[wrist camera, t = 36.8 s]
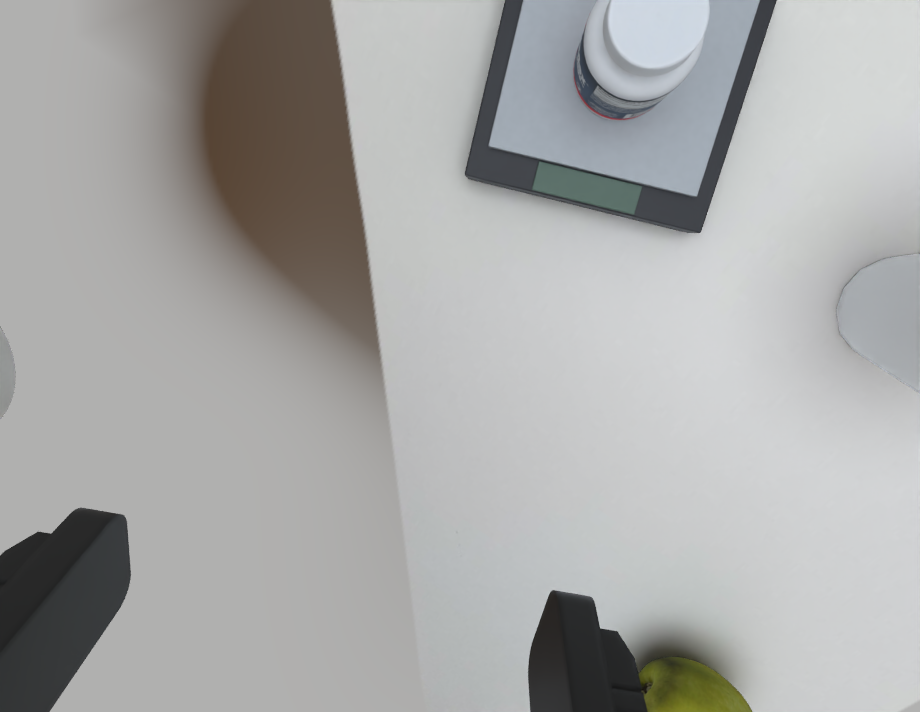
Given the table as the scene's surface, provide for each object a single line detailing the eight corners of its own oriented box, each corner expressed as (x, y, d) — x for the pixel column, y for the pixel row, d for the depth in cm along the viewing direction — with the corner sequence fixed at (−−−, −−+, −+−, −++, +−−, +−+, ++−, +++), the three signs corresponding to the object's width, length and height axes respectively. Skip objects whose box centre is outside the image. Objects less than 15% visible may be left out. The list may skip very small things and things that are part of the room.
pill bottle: (589, 6, 32) (616, -78, 23) (684, 31, 32) (748, -44, 23) (559, 109, 33) (575, 66, 24) (651, 133, 33) (700, 99, 24)
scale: (467, 178, 37) (463, 174, 34) (521, -52, 34) (522, -78, 31) (689, 233, 36) (704, 233, 34) (762, 4, 34) (786, -18, 31)
